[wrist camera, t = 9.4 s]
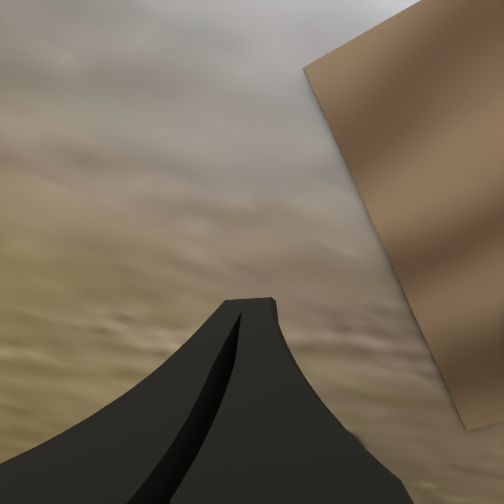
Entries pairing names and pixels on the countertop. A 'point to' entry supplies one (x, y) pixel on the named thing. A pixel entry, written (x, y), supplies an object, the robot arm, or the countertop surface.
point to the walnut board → (433, 176)
